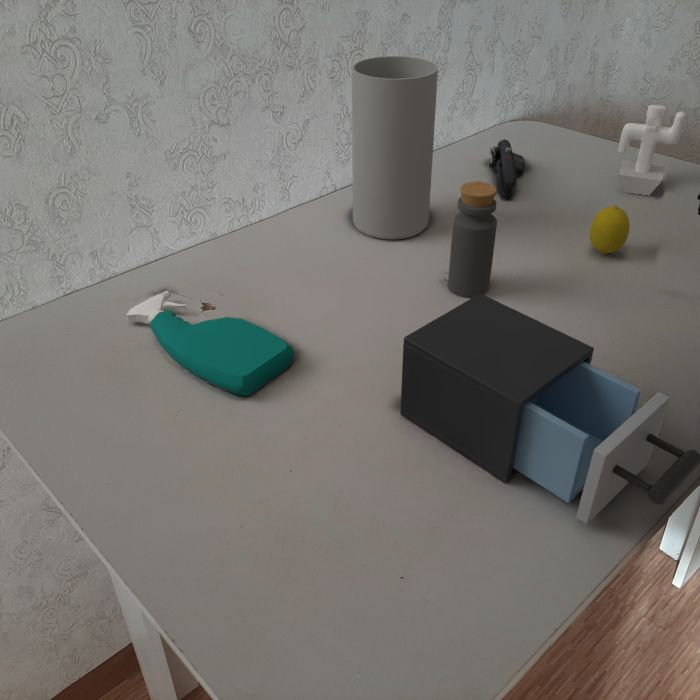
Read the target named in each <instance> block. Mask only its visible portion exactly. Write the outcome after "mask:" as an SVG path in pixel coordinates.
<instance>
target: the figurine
mask: <svg viewBox="0 0 700 700" xmlns="http://www.w3.org/2000/svg"><path fill="white" fill-rule="evenodd" d="M666 111H667V107H666V106H664V105H661V104H649V105H648V106H647V111H646V120H645V123H644V124H643V123H635V122H634V123H633V122H628V123H626V124H624V126H623V127H622V131H621V135H620V139H619V144H618V148H617V151H618V154H619V155H625V154H627V153H628V150H629V147H630V143H631V141H636V142H637V141H639V142H640V145H639V149H638V153H637V158H636V161H631V160H625V159H623V160H622V163H621V165H620V168H619V171H618V174H617V175H618V180H619V182H620V186H621V190H622V193H625V194H631V193H633V195H638V194H642V195H641V196H645V195H649V196H650V195H652V193H653V192H654V191H655V190H656V188H657V187H658V186H659V185H660V184H661V183H662V181H663V178H664V172H665V168H666V165H662V164H654V163H652V161H653V158H654V153H655V150H656V146H657V144H661V145H670V146H673V145H676V144H677V143H678V142H679V141H680V138H681V135H682V131H683V128H684V125H685V120H686V116H687V115H686V113H685V111H681V110H680V111H677V112H676V113H675V116H674V119H673V123H672V125H671V126H670V127H668V126H662V121H663V119H664V118H665V114H666ZM634 193H635V194H634Z"/></svg>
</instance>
